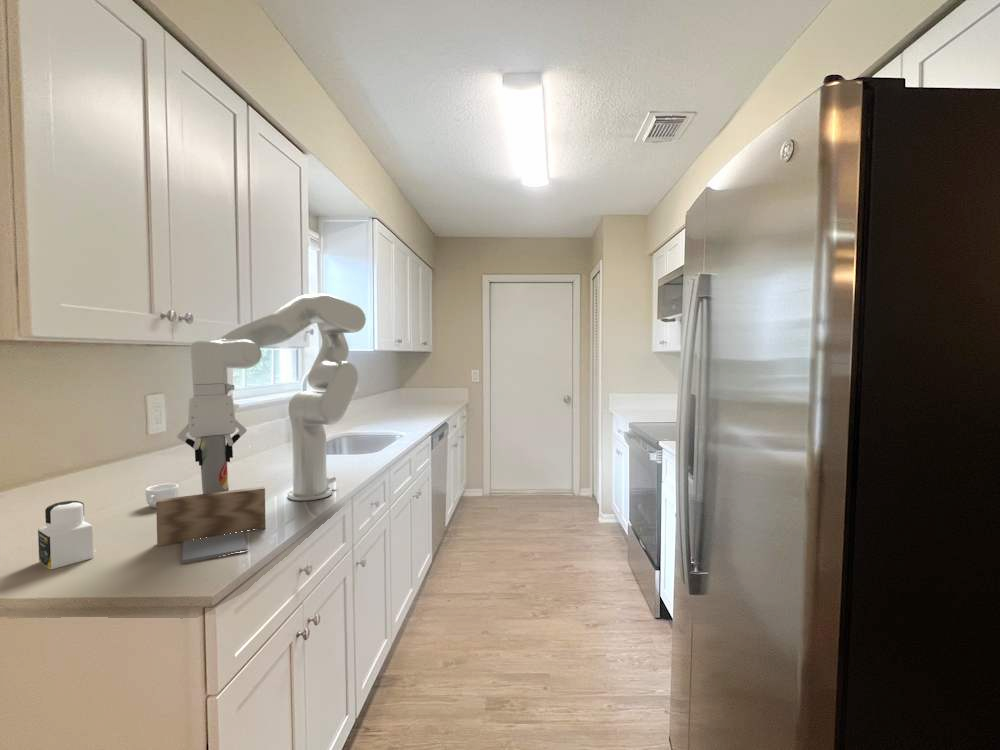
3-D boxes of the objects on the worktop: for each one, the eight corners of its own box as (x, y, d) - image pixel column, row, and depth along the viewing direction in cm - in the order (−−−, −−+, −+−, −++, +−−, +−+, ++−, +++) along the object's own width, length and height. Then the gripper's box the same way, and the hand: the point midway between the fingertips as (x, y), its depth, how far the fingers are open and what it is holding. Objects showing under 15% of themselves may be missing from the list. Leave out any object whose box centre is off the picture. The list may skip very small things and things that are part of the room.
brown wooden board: (264, 526, 124) (263, 486, 124) (265, 528, 122) (264, 488, 122) (157, 543, 113) (156, 499, 112) (157, 546, 111) (156, 502, 111)
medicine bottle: (38, 562, 102) (36, 504, 102) (82, 550, 108) (80, 496, 108) (50, 570, 99) (47, 510, 98) (94, 558, 104) (92, 501, 104)
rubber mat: (243, 534, 118) (243, 531, 118) (247, 552, 108) (247, 548, 108) (183, 544, 112) (183, 541, 112) (182, 564, 102) (182, 560, 102)
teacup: (155, 502, 144) (155, 483, 144) (184, 501, 145) (183, 483, 145) (135, 513, 134) (134, 493, 134) (166, 512, 135) (165, 492, 135)
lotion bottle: (233, 491, 128) (228, 414, 126) (221, 498, 122) (216, 417, 121) (210, 491, 128) (205, 414, 126) (198, 499, 122) (192, 418, 121)
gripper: (248, 387, 131) (251, 455, 132) (170, 391, 122) (174, 464, 123) (250, 389, 124) (254, 461, 126) (168, 394, 115) (173, 470, 117)
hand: (214, 461), depth 124 cm, fingers closed on lotion bottle, 5 cm apart
